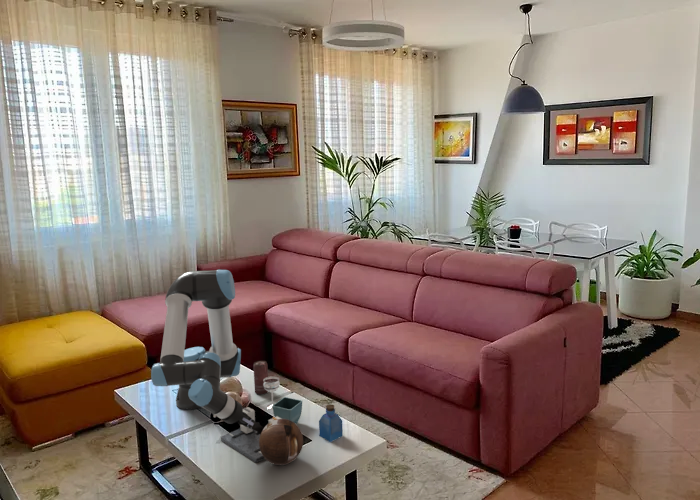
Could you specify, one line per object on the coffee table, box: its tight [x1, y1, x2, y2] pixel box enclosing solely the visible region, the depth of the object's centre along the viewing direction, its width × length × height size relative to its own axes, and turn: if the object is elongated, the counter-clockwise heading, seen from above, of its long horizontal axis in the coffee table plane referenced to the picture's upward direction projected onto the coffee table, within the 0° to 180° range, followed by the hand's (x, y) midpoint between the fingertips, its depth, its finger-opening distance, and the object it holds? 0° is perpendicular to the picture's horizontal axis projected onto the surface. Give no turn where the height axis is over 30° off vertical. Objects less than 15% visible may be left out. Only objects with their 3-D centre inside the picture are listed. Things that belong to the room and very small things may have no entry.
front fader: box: [267, 416, 282, 424], centre depth 199 cm, size 4×4×8 cm
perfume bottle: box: [318, 404, 344, 443], centre depth 204 cm, size 6×6×12 cm
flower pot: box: [272, 396, 303, 425], centre depth 214 cm, size 9×9×9 cm
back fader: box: [239, 406, 256, 434], centre depth 207 cm, size 4×4×8 cm
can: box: [253, 360, 269, 396], centre depth 243 cm, size 6×6×14 cm
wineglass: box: [263, 376, 280, 410], centre depth 229 cm, size 7×7×12 cm
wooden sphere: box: [259, 419, 304, 466], centre depth 187 cm, size 15×15×15 cm
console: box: [220, 427, 266, 464], centre depth 201 cm, size 22×15×2 cm
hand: (269, 436), depth 197 cm, fingers closed
